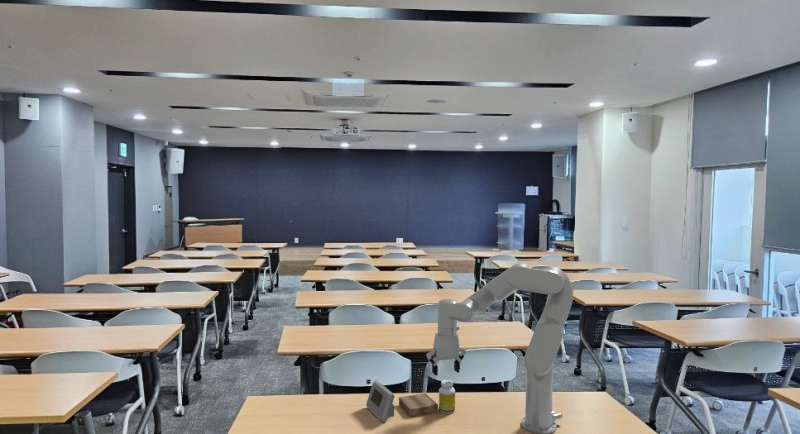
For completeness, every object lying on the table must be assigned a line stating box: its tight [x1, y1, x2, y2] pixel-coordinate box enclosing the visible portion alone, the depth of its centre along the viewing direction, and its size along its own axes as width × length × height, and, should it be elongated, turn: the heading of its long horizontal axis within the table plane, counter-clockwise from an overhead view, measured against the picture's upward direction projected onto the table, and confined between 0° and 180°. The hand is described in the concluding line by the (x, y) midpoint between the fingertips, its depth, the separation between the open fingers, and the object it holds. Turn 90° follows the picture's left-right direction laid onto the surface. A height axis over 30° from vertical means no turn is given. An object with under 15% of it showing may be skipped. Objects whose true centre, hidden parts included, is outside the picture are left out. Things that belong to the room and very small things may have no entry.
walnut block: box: [398, 392, 439, 418], centre depth 187 cm, size 12×12×3 cm
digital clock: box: [365, 380, 395, 423], centre depth 182 cm, size 16×9×11 cm, turn 17°
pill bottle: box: [438, 379, 456, 414], centre depth 185 cm, size 6×6×12 cm
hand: (445, 372), depth 185 cm, fingers open, 9 cm apart
